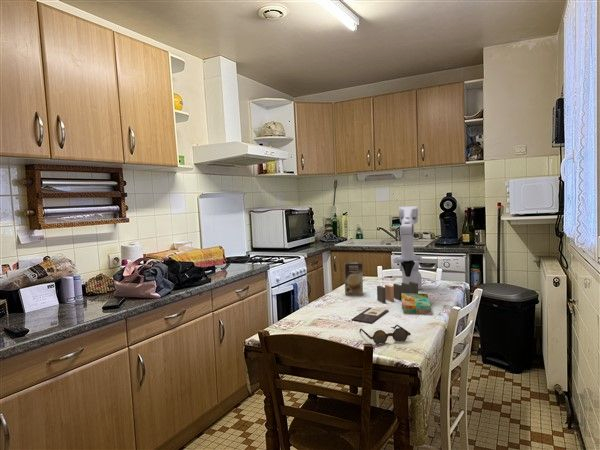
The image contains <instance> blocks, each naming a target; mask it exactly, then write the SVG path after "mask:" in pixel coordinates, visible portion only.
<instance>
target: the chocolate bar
mask: <svg viewBox="0 0 600 450" xmlns="http://www.w3.org/2000/svg"><path fill="white" fill-rule="evenodd" d="M388 313H389V309H383V308H382V309H381V308H374V307H368V308H366V309H365V310H363V311H362V312H360V313H359V314H358V315H356V316H354V317H353V318H351V320H352V322H358V323H364V324H371V325H373V324H374V323H375V322H376V321H378V320H379V319H380V318H382V317H383V316H384V315H386V314H388Z"/></svg>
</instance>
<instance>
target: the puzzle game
mask: <svg viewBox="0 0 600 450" xmlns="http://www.w3.org/2000/svg"><path fill="white" fill-rule="evenodd" d="M401 298H402V300H401V309H402V311H403V313H405V314H407V313H408V314H409V313H410V314H428V313H429V312H430V311H431V308H432V307H431V302H430V299H429V298H430V297H429V296H428V293H421V292H420V293H419V292H418V293H401Z"/></svg>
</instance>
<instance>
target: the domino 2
mask: <svg viewBox="0 0 600 450" xmlns="http://www.w3.org/2000/svg"><path fill="white" fill-rule="evenodd" d="M384 287H385V295H386V300H387V301H389V302H394V301H395V298H394V287H393V285H391V284H389V283H387V284H384Z"/></svg>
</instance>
